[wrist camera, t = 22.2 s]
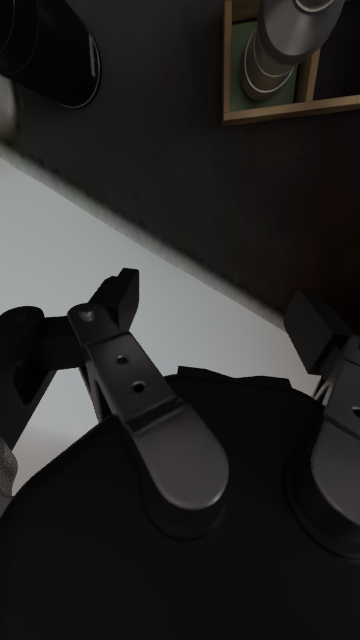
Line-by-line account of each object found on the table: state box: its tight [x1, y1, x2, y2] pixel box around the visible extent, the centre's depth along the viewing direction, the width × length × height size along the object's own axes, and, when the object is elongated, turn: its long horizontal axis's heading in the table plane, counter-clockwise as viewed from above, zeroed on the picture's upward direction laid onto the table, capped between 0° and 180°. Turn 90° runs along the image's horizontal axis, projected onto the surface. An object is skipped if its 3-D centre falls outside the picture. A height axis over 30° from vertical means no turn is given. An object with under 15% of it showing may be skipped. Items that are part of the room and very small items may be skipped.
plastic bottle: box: [240, 0, 345, 100], centre depth 22 cm, size 6×7×20 cm
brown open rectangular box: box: [222, 0, 360, 126], centre depth 28 cm, size 20×11×4 cm, turn 95°
